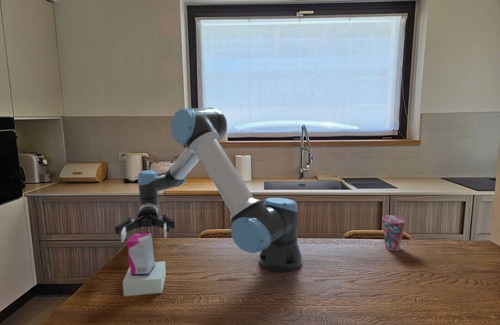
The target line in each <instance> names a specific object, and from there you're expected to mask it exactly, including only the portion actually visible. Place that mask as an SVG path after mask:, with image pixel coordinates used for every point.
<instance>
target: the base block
mask: <svg viewBox="0 0 500 325" xmlns="http://www.w3.org/2000/svg"><path fill="white" fill-rule="evenodd" d="M166 269H167V268H166V261H165V260H164V261H163V260H162V261H155V267H154V268H153V270H152V271H151V273H150V274H149V275H131V270H130V266H129V267H128V268H127V272H126V274H125V275H124V278H123V280H122V289H123V297H130V296H140V295H141V296H142V295H153V294H154V295H155V294H162V293H163V290H164V286H165V285H164V284H165V280H166V276H167V275H166V274H167V270H166Z"/></svg>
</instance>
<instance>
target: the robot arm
mask: <svg viewBox="0 0 500 325" xmlns="http://www.w3.org/2000/svg"><path fill="white" fill-rule="evenodd" d="M170 122H171V123H170V132H171V135H172V138H173V140H174V141H175V142H176V143H179V144H181V145H182V144H183V145H184V144H185V146H186V148H184V149H183V152H181V154H180V155H179V156H178V158H177V159H176V160H175V161H174V163H173V164H172V165H171V166H170V168H168V170H167V171H165V172H159V173H157V172H156V170H142V171H140V172H139V173H138V175H137V184H138V192H139V197H138V198H139V210H138V213H137V216H136V218H135V219H132V217H128V218H127V219H125V220H124V221H122V222H121V223H119V224H118V225H115V226H114V232H115V235H118V236H119V237H120V242H121V243H124V242H125V239H126V237H127V233H129V232H131V231H133V230H136V229H141V228H150V227H153V228H157V227H158V228H161V229H163V237H164V238H168V237H167V236H168V235H167V234H168V232H170V231H171V229H176V223H175V222H176V221H174V220H173V219H171V218H170V217H169V216H167V215H166V214H162V215H161V216H160V217H159V209H160V203H159V192H161V191H165V190H169V189H172V188H178V187H181V186H183V185H184V184H185V183H186V179H187V175H188V174H189V173H190V172H191V170H192V169H193V168H194V167H195V166H196V165H197V163H198V162H199V161H200V162H201V164H202V166H203V168H204V169H205V170H206V172H207V174H208V176H209V178H210V180H212V182H213V184H214V186H215V187H216V189H217V191H218V192H219V194H220V196H221V198H222V199H223V201H224V203H225V205H226V206H227V207H228V210H230V213H231V214H230V218H229V219H230V222H231V223H232V225H231V227H230V231H231V233H230V234H231V238H232V241H233V242H234V243H235V245H236V246H237V247H238V248H239V249H240V250H242V251H243V252H247V253H250V254H256V253H259V264H260V265H261V267H263V268H264V269H266V270H269V271H273V272H279V273H280V272H285V273H287V272H292V271H295V270H297V269H299V268H300V267H301V265H302V264H303V263H302V261H303V256H302V253H301V250H300V246H299V244H298V218H299V216H298V214H299V210H298V203H297V201H295V200H293V199H290V198H286V197H285V198H283V197H268V198H265V199H264V201H262V200H261V199H258V198H254V196H253V195H252V192H250V190H249V188H248V186H247V185H246V184H245V182H244V180H243V178H242V177H241V176H240V174H239V172H238V171H237V169H236V167H235V165H234V164H233V163H232V161H231V159H230V158H229V156H228V155H227V153H226V152H225V150H224V148H223V146H222V145H221V144H220V141H221V140H222V139H223V138H224V136H225V134H226V132H227V129H228V122H227V118H226V116H225V115H224V113H223V112H221V111H220V109H217V108H215V107H195V108H194V107H193V108H192V107H187V108H180V109H178V110H177V111H176V112H175V113H174V114H173V116H172V118H171V121H170Z"/></svg>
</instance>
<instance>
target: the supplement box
mask: <svg viewBox="0 0 500 325" xmlns="http://www.w3.org/2000/svg"><path fill="white" fill-rule="evenodd" d="M152 238H153V237H152V233H151V232H148V233H147V232H145V233H144V232H141V233H139V232H138V233H133V234H132V235H131V236H130V237H129V238H128V239H127V240H126V247H127V254H128V262H129V267H130V270H131V275H149V274H150V273H151V271H152V270H153V268H154V267H155V262H156V261H155V255H154V254H155V253H154V246H153V239H152Z"/></svg>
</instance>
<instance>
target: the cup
mask: <svg viewBox="0 0 500 325" xmlns="http://www.w3.org/2000/svg"><path fill="white" fill-rule="evenodd" d="M406 222H407V219H406V218H405V217H402V216H399V215H394V214H386V215H383V216H382V225H383V238H384V247H385V249H386V250H388V251H392V252H397V251H399V250H400V247H401V243H402V240H403V236H404V235H403V234H404V230H405V227H406V226H405V225H406Z"/></svg>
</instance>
